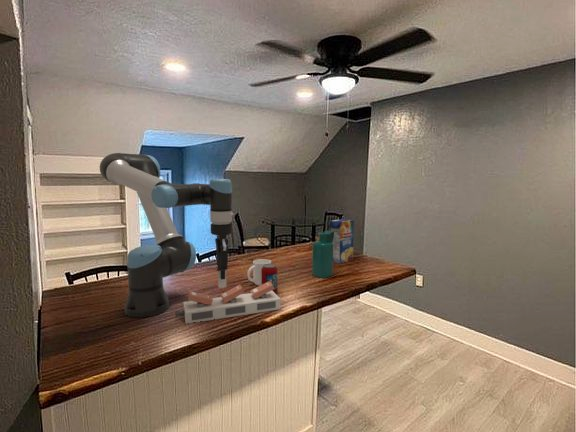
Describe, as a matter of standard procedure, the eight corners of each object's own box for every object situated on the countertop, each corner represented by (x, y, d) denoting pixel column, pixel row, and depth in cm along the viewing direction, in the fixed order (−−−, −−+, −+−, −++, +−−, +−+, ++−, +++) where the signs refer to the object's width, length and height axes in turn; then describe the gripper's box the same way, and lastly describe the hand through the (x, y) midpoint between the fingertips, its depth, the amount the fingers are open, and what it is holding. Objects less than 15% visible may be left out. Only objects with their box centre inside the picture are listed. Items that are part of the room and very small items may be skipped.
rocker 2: (224, 303, 116) (222, 298, 116) (222, 298, 120) (220, 294, 120) (244, 292, 118) (242, 287, 118) (241, 288, 123) (239, 283, 122)
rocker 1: (188, 300, 111) (190, 294, 111) (187, 295, 116) (189, 290, 116) (211, 304, 114) (212, 299, 114) (209, 300, 119) (211, 295, 119)
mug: (252, 288, 143) (251, 266, 142) (243, 283, 150) (242, 262, 149) (274, 283, 151) (274, 261, 149) (264, 279, 157) (264, 258, 156)
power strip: (176, 325, 108) (175, 310, 107) (175, 313, 117) (174, 299, 117) (280, 309, 121) (280, 295, 121) (272, 299, 131) (272, 287, 130)
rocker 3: (255, 298, 120) (253, 294, 120) (252, 294, 124) (250, 290, 124) (274, 289, 123) (272, 284, 122) (270, 285, 127) (269, 280, 126)
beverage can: (271, 296, 134) (271, 268, 133) (258, 293, 138) (258, 266, 136) (280, 291, 140) (280, 264, 138) (267, 288, 143) (267, 262, 142)
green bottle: (322, 279, 157) (323, 234, 154) (310, 275, 163) (310, 232, 161) (336, 274, 163) (336, 231, 161) (323, 271, 170) (324, 229, 167)
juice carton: (343, 257, 197) (344, 218, 194) (353, 260, 192) (354, 220, 189) (329, 261, 190) (330, 220, 187) (339, 263, 184) (340, 222, 181)
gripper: (235, 225, 110) (236, 291, 113) (228, 219, 122) (229, 280, 125) (213, 226, 107) (214, 294, 110) (208, 220, 119) (209, 282, 123)
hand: (222, 286), depth 118 cm, fingers closed
